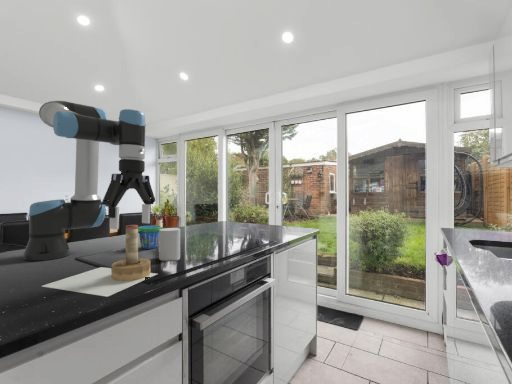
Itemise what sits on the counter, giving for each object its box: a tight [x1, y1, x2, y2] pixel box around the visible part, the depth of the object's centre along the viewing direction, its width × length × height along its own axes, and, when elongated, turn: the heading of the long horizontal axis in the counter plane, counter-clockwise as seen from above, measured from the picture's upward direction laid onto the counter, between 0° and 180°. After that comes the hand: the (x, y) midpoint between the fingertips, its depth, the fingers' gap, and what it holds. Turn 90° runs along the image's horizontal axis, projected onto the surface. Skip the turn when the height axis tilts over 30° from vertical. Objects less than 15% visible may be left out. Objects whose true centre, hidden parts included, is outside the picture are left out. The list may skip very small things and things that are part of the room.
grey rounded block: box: [158, 227, 181, 262], centre depth 109 cm, size 8×8×12 cm
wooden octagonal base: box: [110, 257, 152, 281], centre depth 86 cm, size 11×11×4 cm
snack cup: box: [138, 224, 164, 250], centre depth 130 cm, size 16×10×10 cm
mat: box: [41, 266, 158, 298], centre depth 82 cm, size 24×20×1 cm
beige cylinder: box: [125, 224, 139, 265], centre depth 86 cm, size 4×4×16 cm
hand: (131, 225), depth 86 cm, fingers open, 13 cm apart
